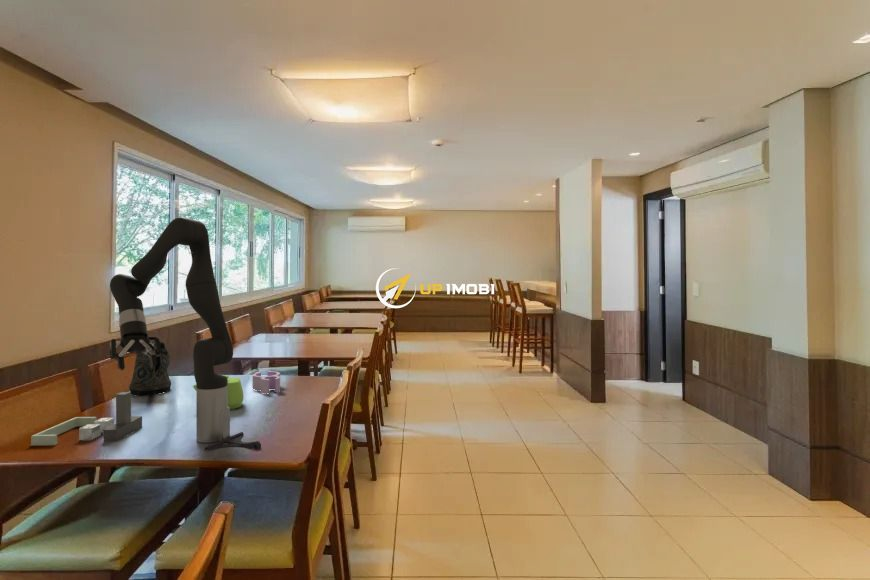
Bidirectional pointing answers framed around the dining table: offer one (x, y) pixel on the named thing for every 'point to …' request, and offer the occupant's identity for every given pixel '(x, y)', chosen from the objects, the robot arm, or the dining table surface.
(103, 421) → the beige cube
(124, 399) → the gray t-shaped block
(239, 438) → the bracket
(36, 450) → the dining table surface
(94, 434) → the grey cube block
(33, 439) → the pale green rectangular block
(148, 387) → the beer stein
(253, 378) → the clip
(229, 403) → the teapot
